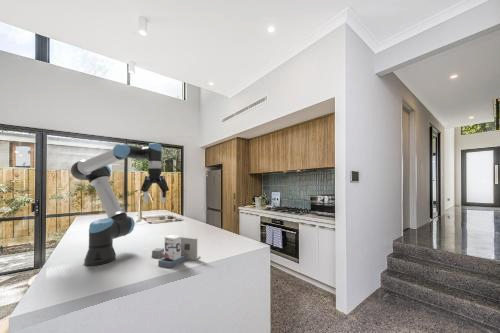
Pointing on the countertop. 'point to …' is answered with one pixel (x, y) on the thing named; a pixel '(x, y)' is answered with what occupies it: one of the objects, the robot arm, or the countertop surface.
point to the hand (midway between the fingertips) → (154, 202)
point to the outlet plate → (189, 248)
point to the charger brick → (158, 252)
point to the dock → (171, 261)
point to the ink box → (172, 247)
